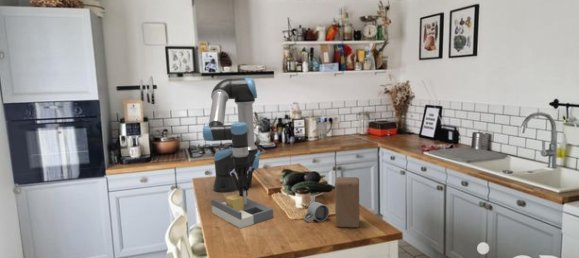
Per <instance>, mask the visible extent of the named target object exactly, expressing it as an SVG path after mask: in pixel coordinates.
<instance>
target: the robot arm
mask: <svg viewBox="0 0 579 258" xmlns="http://www.w3.org/2000/svg"><path fill="white" fill-rule="evenodd" d="M257 94H258V93H257V88H256V83H255V79H254V78H251V77H239V78H237V77H236V78H225V79H222V80H221V81H219V82H218V83H217V84H216V85H215V86H214V87H213V89H212V92H211V94H210V95H211V96H210V98H211V107H210V114H209V119H208V121H209V122H208V125H205V126H203V127H202V138H203V140H204V142H218V141H220V142H221V141H231V147H232V148H225V149H221V150H218V151H216V152H215V153H214V155H213V156H214V170H215V171H214V172H215V179H214V182H213V191H214V192H217V193H228V192H233V191H234V192H235V191H238V192H239V193H238V195H239V196H242V197H243V199H244V205H245V204H247V199H248V198H247V197H248V196H249V195H248V192H249V189H251V188H252V181H253V180H252V179H253V176H254V175H253V174H254V172H255V171H256V170H258V169H259V167H260V157H261V156H260V155H261V153H260V152H261V150H260V149H258V146H257V145H256V144H255V127H254V125H255V124H254V112H253V110H254V107H253V104H254V103H255V102H256V99H257V98H258V95H257ZM229 100H234V103H235V104H236V105H237V116H238V122H233V123H231V124H225V119H226V109H227V108H226V107H227V103H228V101H229Z"/></svg>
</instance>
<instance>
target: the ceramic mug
mask: <svg viewBox="0 0 579 258" xmlns="http://www.w3.org/2000/svg"><path fill="white" fill-rule="evenodd" d="M329 215H330V210H329V207H328V206H327V205H326V204H323V203H320V202H319V201H314V202H312V203H311V204H310V205H309V206H307V213H305V214H304V216H303V219H304V221H305V222H307V223H309V222H312V221H314V220H315V221H317V222H320V223H321V222H322V223H323V222H325V221H327V219H328V218H329ZM309 216H310V217H309ZM308 217H309V218H308Z"/></svg>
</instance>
